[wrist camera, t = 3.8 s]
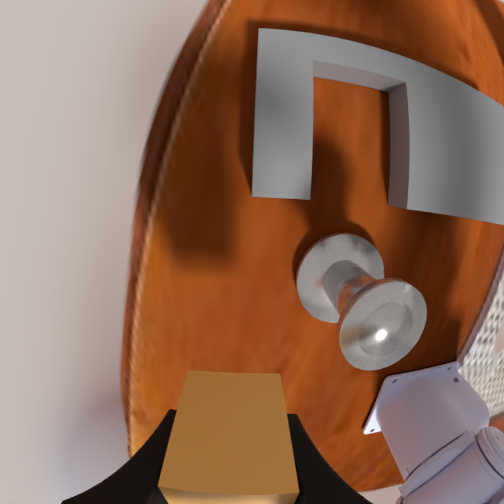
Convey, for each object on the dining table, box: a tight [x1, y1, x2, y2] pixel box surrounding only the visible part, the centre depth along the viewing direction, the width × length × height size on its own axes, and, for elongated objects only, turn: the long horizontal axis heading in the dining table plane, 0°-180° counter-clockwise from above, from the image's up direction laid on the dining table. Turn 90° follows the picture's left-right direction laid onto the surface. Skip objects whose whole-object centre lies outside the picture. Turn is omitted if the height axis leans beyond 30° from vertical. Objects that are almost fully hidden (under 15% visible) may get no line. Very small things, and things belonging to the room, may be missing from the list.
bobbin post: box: [295, 232, 427, 370], centre depth 14 cm, size 6×6×7 cm
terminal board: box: [251, 28, 504, 225], centre depth 14 cm, size 20×10×2 cm, turn 88°
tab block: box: [158, 370, 299, 504], centre depth 9 cm, size 4×4×6 cm
